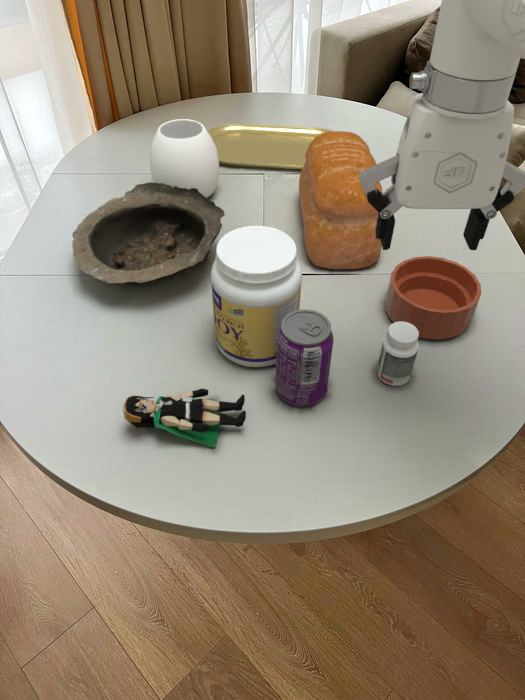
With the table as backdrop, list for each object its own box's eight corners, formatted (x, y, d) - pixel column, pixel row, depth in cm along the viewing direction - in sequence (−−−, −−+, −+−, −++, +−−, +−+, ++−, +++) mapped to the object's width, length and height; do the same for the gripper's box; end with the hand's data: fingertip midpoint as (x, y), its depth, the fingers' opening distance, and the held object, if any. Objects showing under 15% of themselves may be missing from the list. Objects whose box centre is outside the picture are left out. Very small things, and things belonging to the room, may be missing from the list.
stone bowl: (242, 232, 103) (240, 189, 96) (195, 330, 88) (189, 287, 81) (118, 210, 107) (107, 167, 100) (53, 300, 92) (35, 257, 85)
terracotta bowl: (480, 302, 90) (491, 272, 86) (456, 353, 82) (467, 324, 78) (401, 276, 95) (408, 247, 90) (372, 322, 87) (377, 293, 83)
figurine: (247, 430, 68) (120, 423, 65) (239, 456, 72) (119, 451, 69) (243, 382, 74) (126, 374, 71) (236, 409, 78) (125, 402, 75)
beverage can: (335, 383, 78) (345, 319, 70) (311, 417, 74) (318, 354, 65) (291, 362, 81) (295, 299, 72) (265, 395, 77) (266, 332, 68)
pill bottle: (416, 381, 79) (429, 338, 73) (387, 390, 77) (397, 348, 71) (398, 358, 82) (410, 315, 76) (370, 367, 80) (379, 324, 74)
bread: (305, 272, 95) (311, 192, 84) (295, 192, 114) (299, 117, 103) (384, 272, 96) (400, 191, 85) (362, 191, 114) (372, 117, 103)
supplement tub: (198, 341, 84) (188, 248, 72) (256, 302, 90) (255, 210, 78) (257, 385, 78) (257, 291, 66) (314, 340, 84) (323, 247, 72)
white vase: (144, 207, 109) (133, 140, 100) (168, 174, 118) (160, 110, 109) (209, 216, 107) (204, 149, 98) (228, 182, 116) (225, 117, 107)
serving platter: (205, 128, 134) (204, 121, 133) (353, 136, 131) (353, 129, 130) (189, 166, 121) (188, 159, 120) (353, 176, 118) (353, 169, 117)
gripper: (377, 103, 49) (353, 263, 61) (577, 104, 49) (513, 263, 61) (366, 70, 54) (346, 224, 66) (547, 71, 54) (493, 224, 66)
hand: (426, 242), depth 63 cm, fingers open, 9 cm apart
